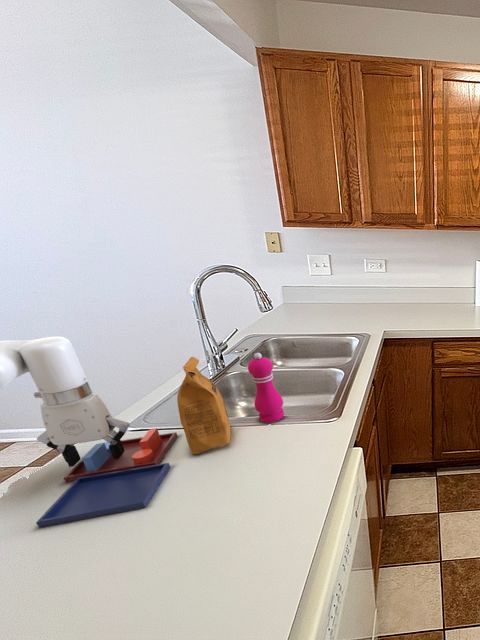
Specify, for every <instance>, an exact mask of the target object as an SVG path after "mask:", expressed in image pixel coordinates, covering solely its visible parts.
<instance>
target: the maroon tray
mask: <svg viewBox="0 0 480 640" xmlns="http://www.w3.org/2000/svg"><path fill="white" fill-rule="evenodd" d="M159 435H160V438H161V440H162V442H161V443H160V445H159V446H158V447H157V449H156V450H155V452H154V453H153V454H154V457H155V458H154V459H153V460H152V461H151V462H149V463H143V464H137V465H135V463H134V461H133V459H132V455H133V454H134V453H136V452H138V451H140V450H142V448H141V445H140V443H139V442H140V441H141V439H142V438H143V437H144V436H141V437H135V438H134V437H133V438H128V439H120V440H121V442H122V445H123V447H124V453H123V454H122V456H121V457H120V458H119V459H117V460H115V459H114V458H113V456H112V455H111V456H110V457H109V458H108V459H107V461H106V462H105V463H104V464H103V465H102V466H101V467H100V468H99V470H98V471H95V472H89V473H88V471H87V469H86V466H85V464H84V462H83V460H82V458H81V459H80V460H79V461H78V462H77V463H76V464H75V466H73V467H72V468H71V469H70V471H69V472H67V474H66V475H65V476H64V477H63V480H64V483H65V484H67V483H73V482H74V481H75V480H76V479H77V478H80V477H86V476H92V475H98V474H104V473H110V472H116V471H122V470H128V469H134V468H140V467H146V466H152V465H158V464H161V462H162V461H163V460H164V458H165V457H166V455H167V454H168V452H169V450H170V449H171V447H172V445H174V443H175V442H176V440H177V438H179V436H178V433H177V432H176V431H174V432H168V433H161V434H159Z"/></svg>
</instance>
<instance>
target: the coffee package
mask: <svg viewBox="0 0 480 640" xmlns="http://www.w3.org/2000/svg"><path fill="white" fill-rule="evenodd" d="M199 362H200V360H199V358H196V356H191V357H189V359H188V360H187V361H186V363H185V364H184V365H183V366H182V369H183V371H184V374H185V376H184V379H183V381H182V382H181V385H180V386H179V388H178V391H177V396H176V398H177V399H176V400H177V401H176V402H177V408H178V415H179V420H180V424H181V426H182V429H183V432H184V435H185V439H186V441H187V445H188V448H189V451H190V453H191V454H192V455H199V454H200V453H203V452H206V451H208V450H211V449H218V448H221V447H224V446H227V445H228V444H230V442H231V424H230V419H229V414H228V411H227V408H226V404H225V401H224V399H223V396H222V394H221V392H220V390H219V389H218V387H217V385H216V384H215V383H214V382H213V381H212V380H211V379H210V378H208V377H207V376H205V375H203V374H202V373H201V371H200V370H199V369H198V368H197V366H198V365H199Z"/></svg>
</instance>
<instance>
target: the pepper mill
mask: <svg viewBox="0 0 480 640" xmlns="http://www.w3.org/2000/svg"><path fill="white" fill-rule="evenodd" d="M253 357H254V358H253V359H251V360H250V361H249V362H248V364H247V371H248V373H249V374H250V375H251V379H252V382H253V383H254V384H255V386H256V394H255V398H254V409H255V410H256V412H258V417H259V421H260V422H261V423H264V424H271V423H274V422H278V421H280V420H282V418H284V416H285V411H284V409H283V408H282V407H283V406H284V399H283V397H282V395H281V394H280V393H279V391H278V390H277V389H276V387H275V385H274V382H273V378H274V374H273V372H272V371H273V369H274V366H273V365H274V364H273V362H272V360H271V359H270V358H268V357H263V356H262V354H261V353H260V352H256V353H254V355H253Z"/></svg>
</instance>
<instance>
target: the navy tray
mask: <svg viewBox="0 0 480 640" xmlns="http://www.w3.org/2000/svg"><path fill="white" fill-rule="evenodd" d="M170 469H171V466H170V463H169V462H164V463H160V464H158V465H152V466H146V467H140V468H134V469H128V470H122V471H116V472H110V473H104V474H98V475H92V476H86V477H80V478H77V479H76V480H75V481H74V482H71V485H69V487H67V488H66V489H65V491H63V493H62V494H61V495H60V496H59V497H58V498H57V499H56V501H54V502H53V504H52V505H50V507H49V508H48V509H47V510H46V511H45V512H44V513H43V514H42V516H41V517H40V518H38V520H37V521H36V525H37V527H38V528H39V529H41V528H46V527H52V526H56V525H62V524H67V523H72V522H78V521H83V520H88V519H89V520H90V519H94V518H98V517H104V516H110V515H114V514H120V513H124V512H125V513H126V512H130V511H135V510H140V509H145V508H147V506H148V504H149V503H150V501H151V499H152V498H153V496H154V495H155V493H156V492H157V490H158V488H159V486H160V485H161V483H162V482H163V480H164V479H165V477H166V476H167V474H168V472H169V471H170Z"/></svg>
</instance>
